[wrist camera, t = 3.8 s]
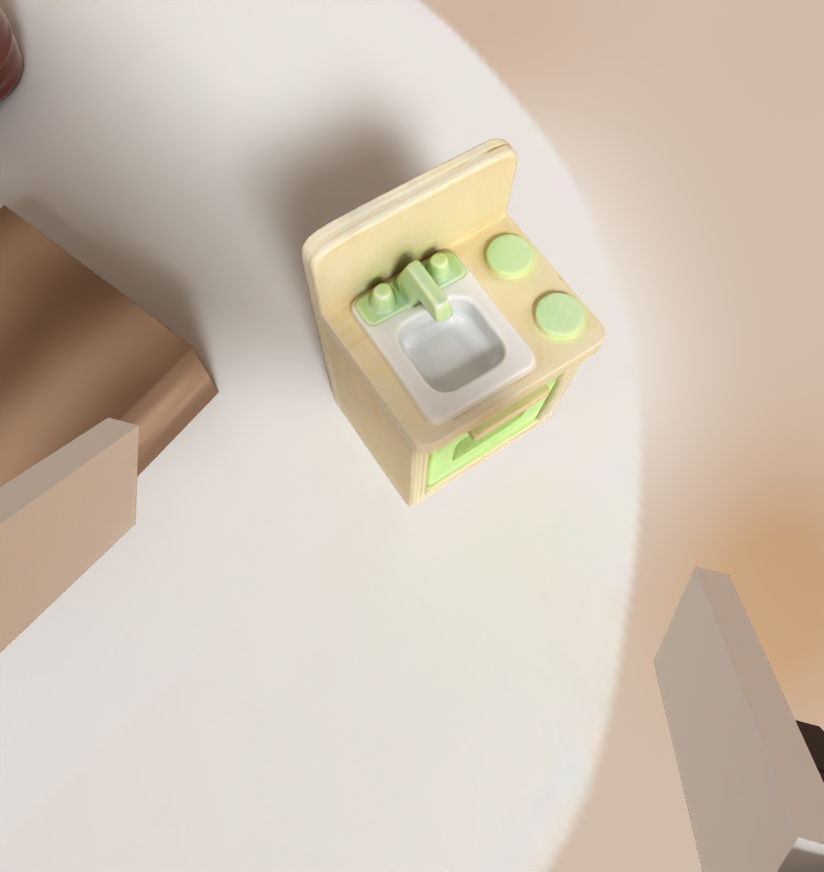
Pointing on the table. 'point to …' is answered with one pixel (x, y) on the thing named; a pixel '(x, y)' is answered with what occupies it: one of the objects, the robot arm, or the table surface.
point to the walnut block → (82, 357)
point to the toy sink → (443, 321)
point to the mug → (8, 57)
